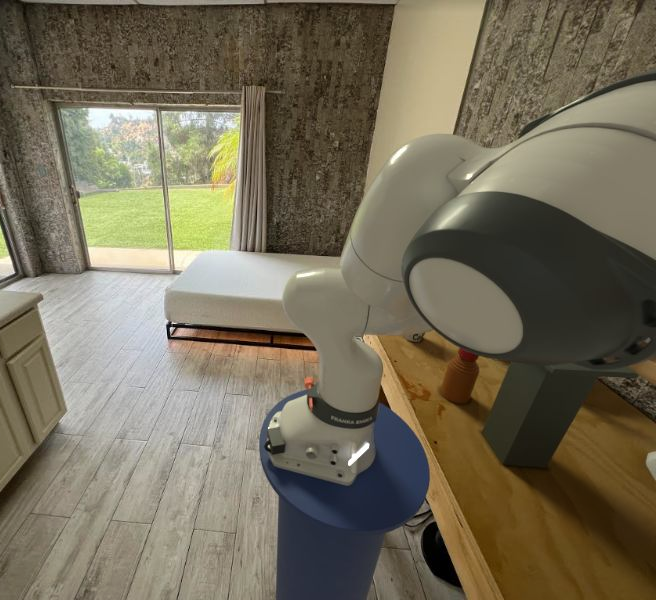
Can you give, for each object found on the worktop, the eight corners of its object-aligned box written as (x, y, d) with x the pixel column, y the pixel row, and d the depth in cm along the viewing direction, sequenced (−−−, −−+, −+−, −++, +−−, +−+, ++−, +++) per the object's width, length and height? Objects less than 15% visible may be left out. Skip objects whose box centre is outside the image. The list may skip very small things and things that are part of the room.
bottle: (446, 403, 78) (461, 357, 73) (436, 385, 84) (449, 342, 78) (474, 404, 78) (491, 359, 72) (461, 387, 84) (476, 343, 78)
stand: (500, 477, 61) (554, 369, 49) (469, 428, 71) (507, 329, 60) (568, 483, 60) (639, 373, 48) (526, 432, 70) (576, 332, 59)
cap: (472, 351, 77) (474, 344, 76) (480, 361, 74) (483, 353, 73) (454, 350, 78) (457, 343, 77) (462, 360, 74) (465, 352, 73)
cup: (412, 346, 101) (419, 319, 96) (394, 334, 108) (399, 308, 103) (431, 341, 103) (439, 314, 99) (412, 329, 110) (418, 303, 106)
